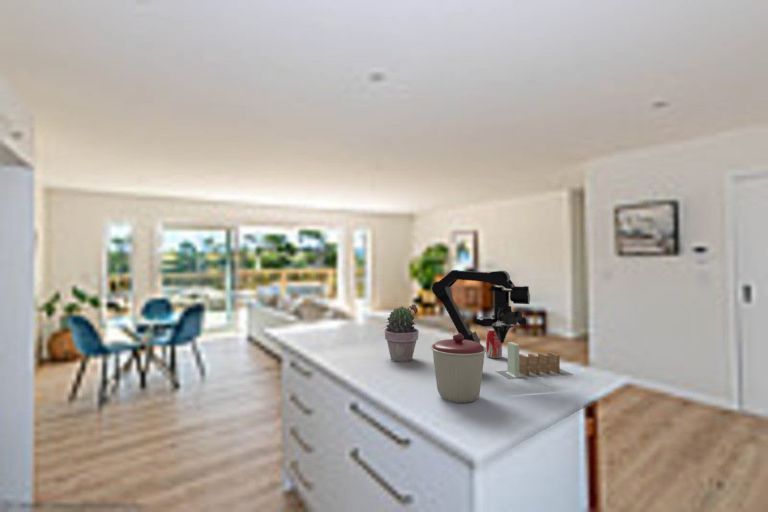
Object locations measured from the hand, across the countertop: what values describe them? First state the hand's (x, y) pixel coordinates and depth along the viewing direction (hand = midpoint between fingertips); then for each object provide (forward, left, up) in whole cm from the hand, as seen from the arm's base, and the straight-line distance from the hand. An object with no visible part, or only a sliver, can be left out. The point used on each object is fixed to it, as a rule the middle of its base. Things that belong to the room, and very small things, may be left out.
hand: (501, 343), depth 144 cm
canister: (-25, -17, -13) cm, 33 cm away
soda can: (+12, +27, -13) cm, 32 cm away
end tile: (+23, 0, -12) cm, 26 cm away
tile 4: (+19, 0, -12) cm, 22 cm away
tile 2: (+10, 0, -12) cm, 16 cm away
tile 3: (+14, 0, -12) cm, 19 cm away
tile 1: (+5, 0, -12) cm, 13 cm away
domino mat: (+14, 0, -13) cm, 19 cm away
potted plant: (-32, +33, -13) cm, 48 cm away
